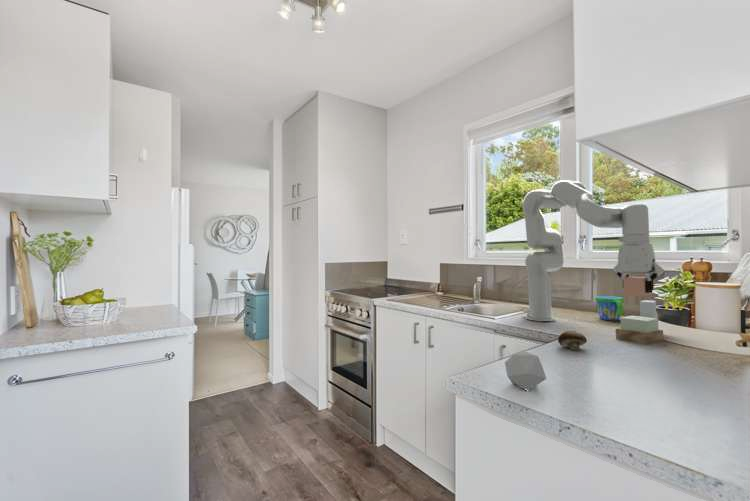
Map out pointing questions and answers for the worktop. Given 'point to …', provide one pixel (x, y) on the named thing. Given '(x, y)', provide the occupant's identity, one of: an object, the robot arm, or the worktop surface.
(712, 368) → the worktop surface
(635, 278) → the cube
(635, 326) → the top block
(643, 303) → the skincare box
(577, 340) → the mushroom
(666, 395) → the worktop surface
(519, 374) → the die
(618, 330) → the bottom slab
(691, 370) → the worktop surface
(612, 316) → the snack cup
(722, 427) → the worktop surface
